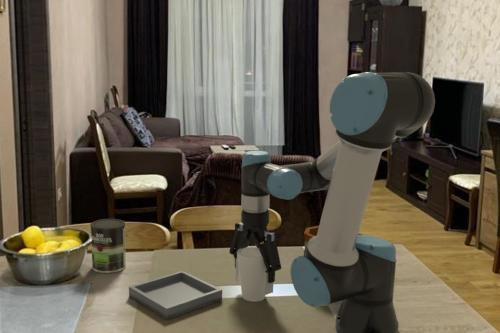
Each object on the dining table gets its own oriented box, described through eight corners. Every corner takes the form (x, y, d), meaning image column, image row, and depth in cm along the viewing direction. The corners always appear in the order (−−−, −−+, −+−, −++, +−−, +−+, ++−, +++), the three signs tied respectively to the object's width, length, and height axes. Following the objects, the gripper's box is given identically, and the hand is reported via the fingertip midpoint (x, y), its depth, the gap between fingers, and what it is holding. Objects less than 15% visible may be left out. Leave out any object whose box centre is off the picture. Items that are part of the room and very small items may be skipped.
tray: (222, 300, 161) (222, 289, 160) (167, 319, 149) (166, 308, 148) (182, 280, 174) (182, 270, 173) (129, 297, 162) (128, 286, 161)
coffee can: (115, 275, 177) (114, 230, 174) (85, 271, 180) (83, 226, 177) (132, 263, 187) (131, 220, 184) (103, 259, 190) (101, 217, 187)
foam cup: (267, 305, 158) (268, 259, 155) (233, 302, 160) (234, 256, 157) (273, 291, 167) (274, 247, 164) (241, 288, 169) (241, 244, 166)
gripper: (296, 216, 152) (294, 296, 157) (237, 198, 169) (236, 270, 174) (276, 221, 147) (274, 304, 152) (216, 202, 164) (216, 277, 169)
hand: (253, 286), depth 163 cm, fingers open, 11 cm apart
